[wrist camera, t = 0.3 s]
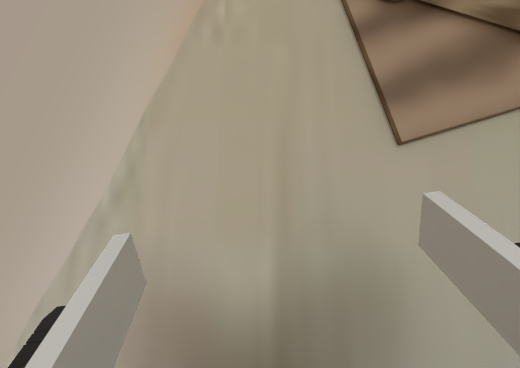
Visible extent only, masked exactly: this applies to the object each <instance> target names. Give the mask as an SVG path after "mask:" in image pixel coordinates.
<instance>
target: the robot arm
mask: <svg viewBox="0 0 520 368" xmlns="http://www.w3.org/2000/svg"><path fill="white" fill-rule="evenodd" d="M419 246H420V247H421V249H422V250H423V251H424V252H425V253H426V254H427V255H428V256H429V257H430V258H431V259H432V261H433V262H434V263H435V264H436V265H437V266H438V267H439V268H440V269H441V270H442V271H443V273H444V274H445V275H446V276H447V277H448V278H449V279H450V280H451V281H452V282H453V284H454V285H455V286H456V287H457V288H458V289H459V290H460V291H461V292H462V293H463V294H464V296H465V297H466V298H467V299H468V300H469V301H470V302H471V303H472V304H473V305H474V306H475V308H476V309H477V310H478V311H479V312H480V313H481V314H482V315H483V316H484V317H485V319H486V320H487V321H488V322H489V323H490V324H491V325H492V326H493V327H494V328H495V329H496V331H497V332H498V333H499V334H500V335H501V336H502V337H503V338H504V339H505V340H506V341H507V343H508V344H509V345H510V346H511V347H512V348H513V349H514V350H515V351H516V352H517V353H518V355H519V356H520V243H512V242H511V241H509V240H508V239H507V238H505V237H504V236H502V235H501V234H500V233H498V232H497V231H495V230H494V229H492V228H491V227H490V226H488V225H487V224H485V223H484V222H483V221H481V220H480V219H478V218H477V217H476V216H474V215H473V214H471V213H470V212H469V211H467V210H466V209H464V208H463V207H461V206H460V205H459V204H457V203H456V202H454V201H453V200H452V199H450V198H449V197H447V196H446V195H445V194H443V193H442V192H440V191H437V192H429V193H423V197H422V209H421V221H420V233H419ZM146 283H147V282H146V279H145V276H144V273H143V270H142V267H141V263H140V260H139V257H138V254H137V251H136V248H135V245H134V241H133V238H132V235H131V233H126V234H118V235H113V237H112V238H111V240H110V241H109V243H108V244H107V246H106V247H105V249H104V250H103V252H102V253H101V255H100V256H99V258H98V259H97V261H96V262H95V264H94V265H93V266H92V268H91V269H90V271H89V272H88V274H87V275H86V277H85V278H84V280H83V281H82V283H81V284H80V286H79V287H78V289H77V290H76V292H75V293H74V295H73V296H72V298H71V299H70V301H69V302H68V304H67V305H66V306H60V307H56V308H55V309H54V310H53V311H52V312H51V313H49V314H48V315H47V316H46V317H45V318H44V319H43V320H42V321H41V323H40V324H39V325H38V327H37V328H36V330H35V331H34V334H32V335H31V337H30V338H29V339H28V341H27V342H26V345H24V346H23V348H22V349H21V350H20V352H19V353H18V355H17V356H16V357H15V359H14V360H13V361H12V363H11V364H10V366H9V367H8V368H113V366H114V364H115V361H116V359H117V356H118V354H119V351H120V348H121V346H122V343H123V341H124V338H125V336H126V333H127V331H128V328H129V326H130V323H131V321H132V318H133V315H134V313H135V310H136V308H137V305H138V303H139V300H140V298H141V295H142V293H143V290H144V288H145V285H146Z"/></svg>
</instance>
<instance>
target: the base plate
mask: <svg viewBox="0 0 520 368" xmlns="http://www.w3.org/2000/svg"><path fill="white" fill-rule="evenodd" d="M342 2H343V4H344V7H345V10H346V12H347V15H348V17H349V20H350V22H351V25H352V27H353V30H354V33H355V35H356V38H357V40H358V43H359V45H360V48H361V50H362V53H363V56H364V58H365V61H366V63H367V66H368V68H369V71H370V73H371V76H372V79H373V81H374V84H375V86H376V89H377V91H378V94H379V96H380V99H381V102H382V104H383V107H384V109H385V112H386V114H387V117H388V119H389V122H390V125H391V127H392V130H393V132H394V135H395V137H396V140H397V142H398V145H400V144H404V143H407V142H410V141H414V140H417V139H420V138H424V137H427V136H430V135H434V134H437V133H440V132H443V131H447V130H450V129H453V128H457V127H460V126H463V125H467V124H470V123H473V122H476V121H480V120H483V119H486V118H490V117H493V116H496V115H500V114H503V113H506V112H510V111H513V110H516V109H519V108H520V31H519V30H516V29H513V28H509V27H506V26H503V25H500V24H496V23H493V22H490V21H487V20H483V19H480V18H477V17H474V16H470V15H467V14H464V13H460V12H457V11H454V10H451V9H447V8H444V7H441V6H438V5H434V4H431V3H428V2H424V1H421V0H342Z"/></svg>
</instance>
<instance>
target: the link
mask: <svg viewBox="0 0 520 368" xmlns="http://www.w3.org/2000/svg"><path fill="white" fill-rule="evenodd" d="M421 1H424V2H428V3H431V4H434V5H438V6H441V7H444V8H447V9H451V10H454V11H457V12H460V13H464V14H467V15H470V16H474V17H477V18H480V19H483V20H487V21H490V22H493V23H496V24H500V25H503V26H506V27H509V28H513V29H516V30H519V31H520V0H421Z"/></svg>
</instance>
